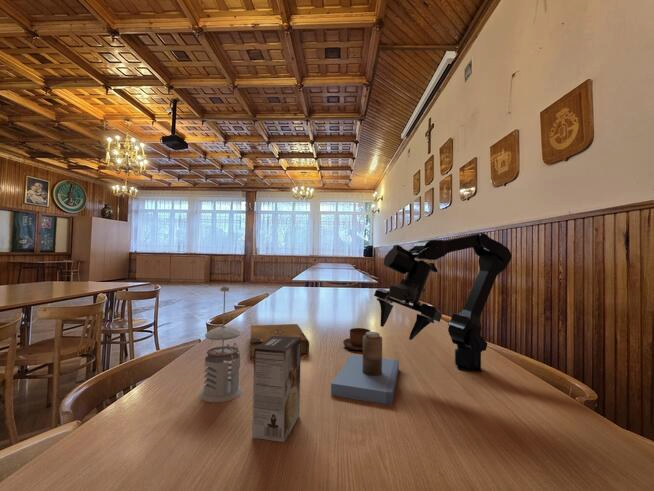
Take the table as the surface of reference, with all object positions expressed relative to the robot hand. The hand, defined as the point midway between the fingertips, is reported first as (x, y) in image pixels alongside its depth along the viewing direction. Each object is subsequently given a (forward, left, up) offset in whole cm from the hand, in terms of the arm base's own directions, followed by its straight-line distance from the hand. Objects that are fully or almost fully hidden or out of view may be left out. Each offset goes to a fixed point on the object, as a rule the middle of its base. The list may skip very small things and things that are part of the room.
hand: (395, 332), depth 83 cm
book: (+6, +6, -12) cm, 15 cm away
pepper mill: (+5, +6, -9) cm, 12 cm away
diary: (+42, -12, -12) cm, 45 cm away
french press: (+37, +25, -12) cm, 46 cm away
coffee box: (+19, +33, -12) cm, 40 cm away
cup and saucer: (+14, -22, -12) cm, 29 cm away
